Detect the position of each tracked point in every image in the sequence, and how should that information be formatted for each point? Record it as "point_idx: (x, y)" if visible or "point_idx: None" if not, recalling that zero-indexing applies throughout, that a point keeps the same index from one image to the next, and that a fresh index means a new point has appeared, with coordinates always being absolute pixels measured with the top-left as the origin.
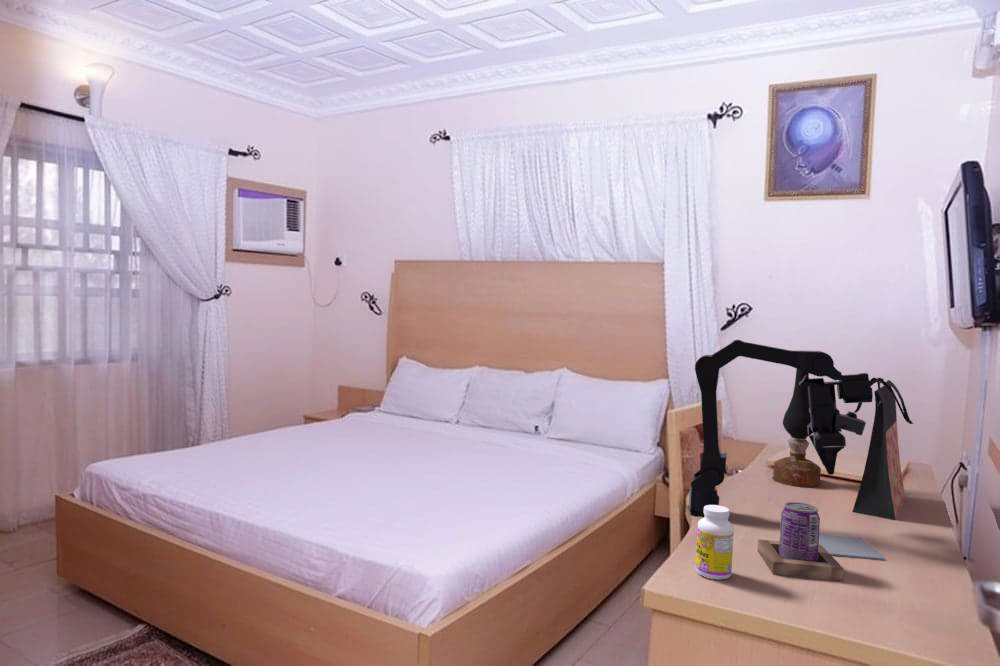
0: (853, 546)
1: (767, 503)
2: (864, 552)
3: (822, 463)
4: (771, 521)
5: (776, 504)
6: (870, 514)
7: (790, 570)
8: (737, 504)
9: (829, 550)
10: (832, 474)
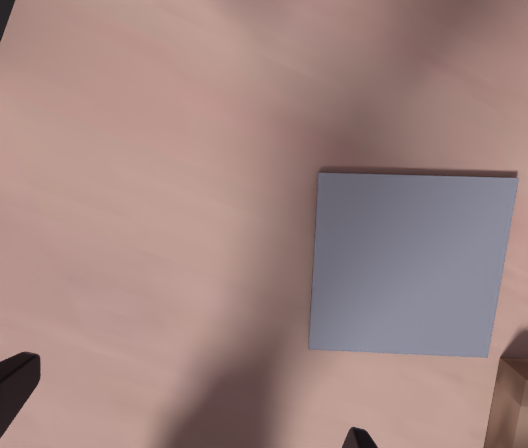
0: (418, 235)
1: (2, 349)
2: (470, 223)
3: (23, 404)
4: (203, 392)
5: (2, 323)
6: (8, 8)
7: None
8: (53, 442)
9: (465, 323)
10: (360, 432)
